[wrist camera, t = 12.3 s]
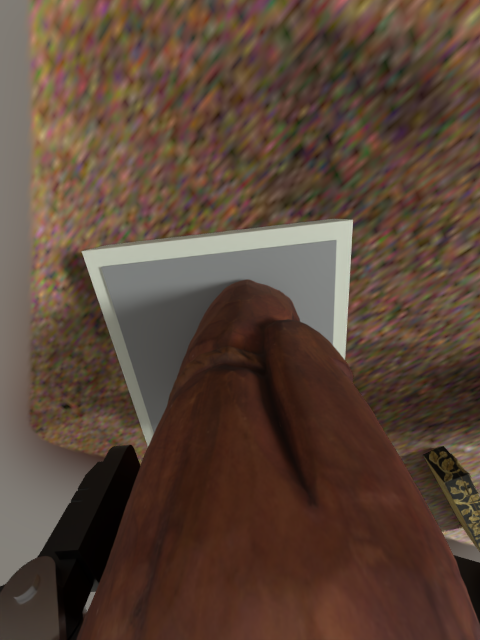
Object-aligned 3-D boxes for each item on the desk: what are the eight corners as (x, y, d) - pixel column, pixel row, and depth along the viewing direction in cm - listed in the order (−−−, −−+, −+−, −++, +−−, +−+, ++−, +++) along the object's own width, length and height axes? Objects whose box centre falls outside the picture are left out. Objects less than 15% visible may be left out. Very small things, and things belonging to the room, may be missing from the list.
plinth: (333, 218, 18) (355, 219, 14) (327, 402, 24) (342, 432, 21) (106, 245, 18) (78, 251, 15) (158, 418, 24) (146, 450, 21)
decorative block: (479, 519, 31) (508, 554, 28) (459, 526, 32) (485, 561, 29) (442, 442, 26) (471, 474, 23) (419, 452, 27) (445, 484, 24)
